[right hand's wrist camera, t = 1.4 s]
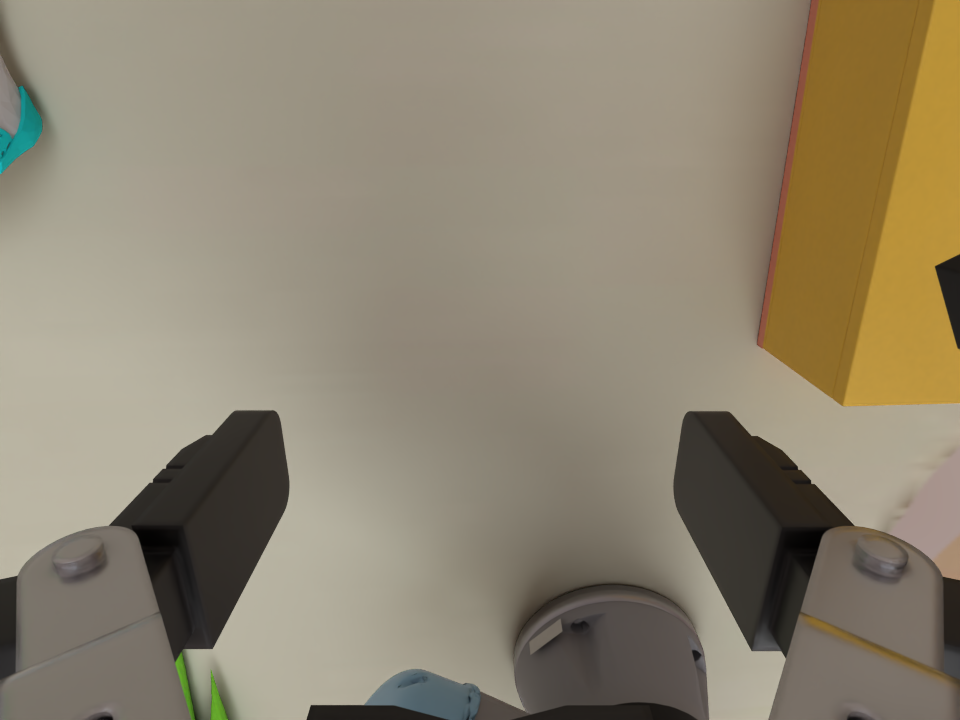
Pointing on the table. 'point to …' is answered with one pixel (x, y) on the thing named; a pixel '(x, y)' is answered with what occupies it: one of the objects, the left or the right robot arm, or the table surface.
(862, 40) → the cabinet
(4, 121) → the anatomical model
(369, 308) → the table surface
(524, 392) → the table surface
